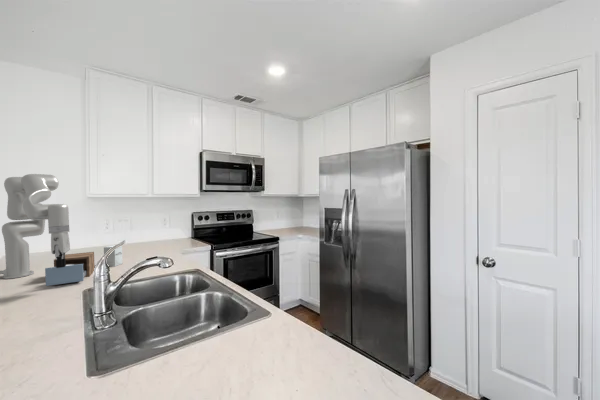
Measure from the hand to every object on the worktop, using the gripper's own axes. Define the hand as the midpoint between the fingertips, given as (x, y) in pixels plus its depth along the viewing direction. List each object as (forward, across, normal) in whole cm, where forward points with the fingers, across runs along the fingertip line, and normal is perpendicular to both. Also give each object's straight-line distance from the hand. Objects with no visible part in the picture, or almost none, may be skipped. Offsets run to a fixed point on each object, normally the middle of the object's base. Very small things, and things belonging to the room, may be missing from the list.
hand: (61, 267), depth 130 cm
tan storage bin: (+11, +27, 0) cm, 29 cm away
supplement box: (+11, +43, -16) cm, 47 cm away
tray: (+9, +13, 0) cm, 16 cm away
